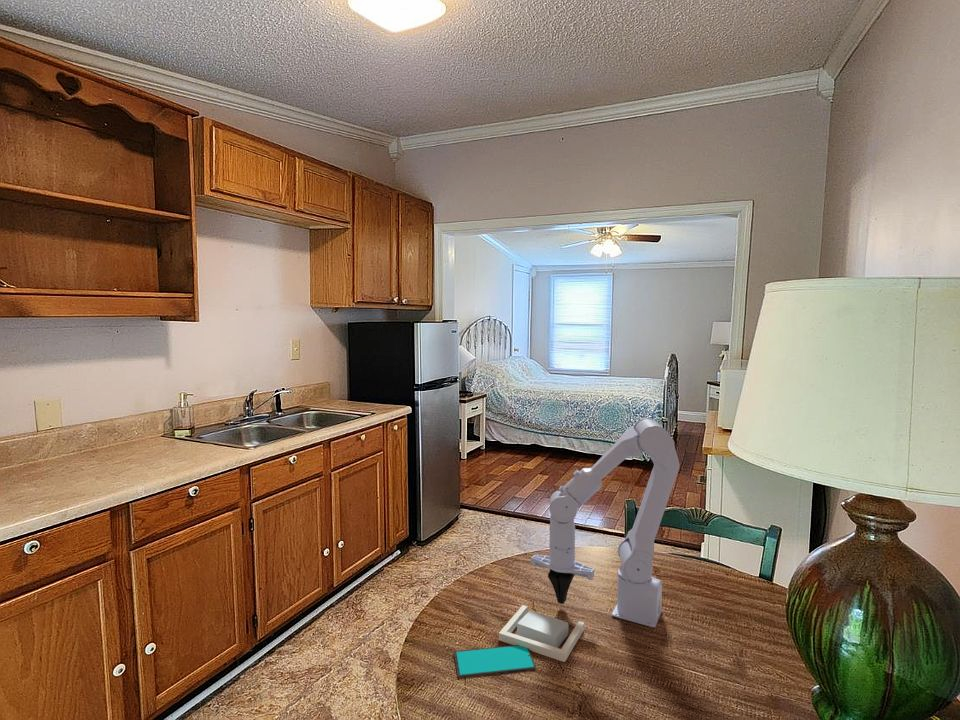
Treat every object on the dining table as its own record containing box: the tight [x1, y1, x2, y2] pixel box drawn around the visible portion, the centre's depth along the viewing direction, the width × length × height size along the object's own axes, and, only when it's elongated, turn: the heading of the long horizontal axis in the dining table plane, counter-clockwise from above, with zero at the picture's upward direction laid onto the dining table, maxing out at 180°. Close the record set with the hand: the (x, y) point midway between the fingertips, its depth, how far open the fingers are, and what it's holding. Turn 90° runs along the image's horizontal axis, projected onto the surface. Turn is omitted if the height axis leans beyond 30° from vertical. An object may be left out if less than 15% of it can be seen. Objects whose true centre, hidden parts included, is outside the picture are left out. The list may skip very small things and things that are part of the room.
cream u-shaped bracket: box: [498, 604, 585, 663], centre depth 112 cm, size 14×12×2 cm
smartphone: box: [453, 645, 536, 679], centre depth 103 cm, size 7×1×15 cm
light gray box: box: [516, 609, 569, 648], centre depth 112 cm, size 9×6×3 cm, turn 57°
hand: (561, 601), depth 122 cm, fingers closed
